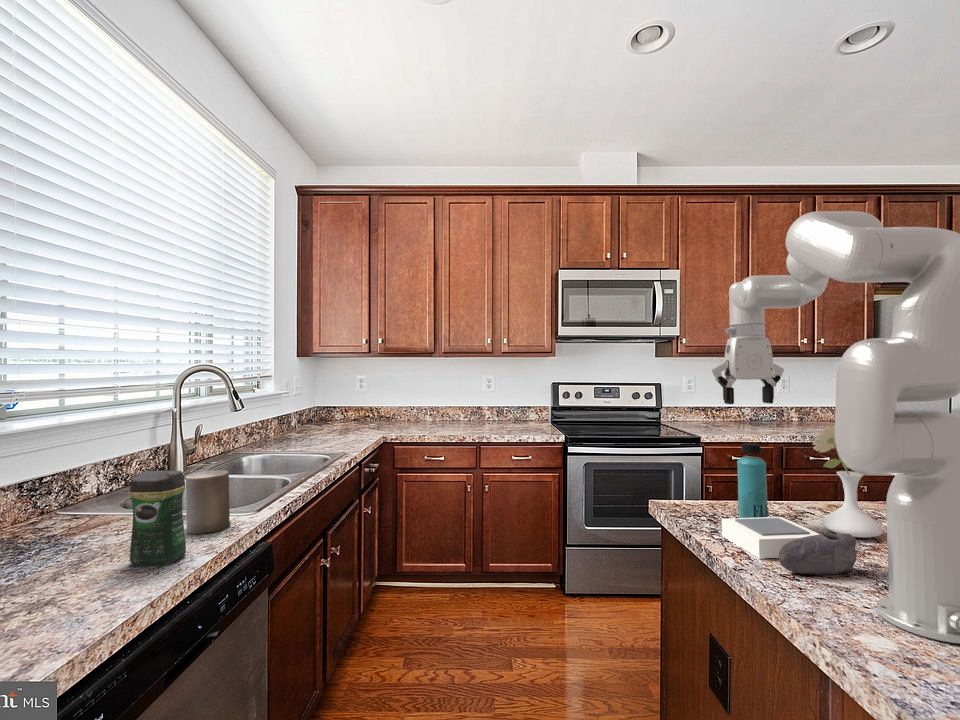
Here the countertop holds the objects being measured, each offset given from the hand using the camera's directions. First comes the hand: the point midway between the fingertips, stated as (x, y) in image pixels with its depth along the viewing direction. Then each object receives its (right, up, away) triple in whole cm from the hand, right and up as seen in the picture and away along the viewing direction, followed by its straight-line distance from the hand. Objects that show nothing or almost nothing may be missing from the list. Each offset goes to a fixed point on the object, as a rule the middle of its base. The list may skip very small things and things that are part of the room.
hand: (748, 403), depth 121 cm
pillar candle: (-134, -32, +5) cm, 137 cm away
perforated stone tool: (-2, -29, -28) cm, 40 cm away
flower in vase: (+19, -30, -7) cm, 36 cm away
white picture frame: (-3, -29, -14) cm, 33 cm away
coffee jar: (-133, -32, -16) cm, 137 cm away
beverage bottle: (+1, -30, 0) cm, 30 cm away
